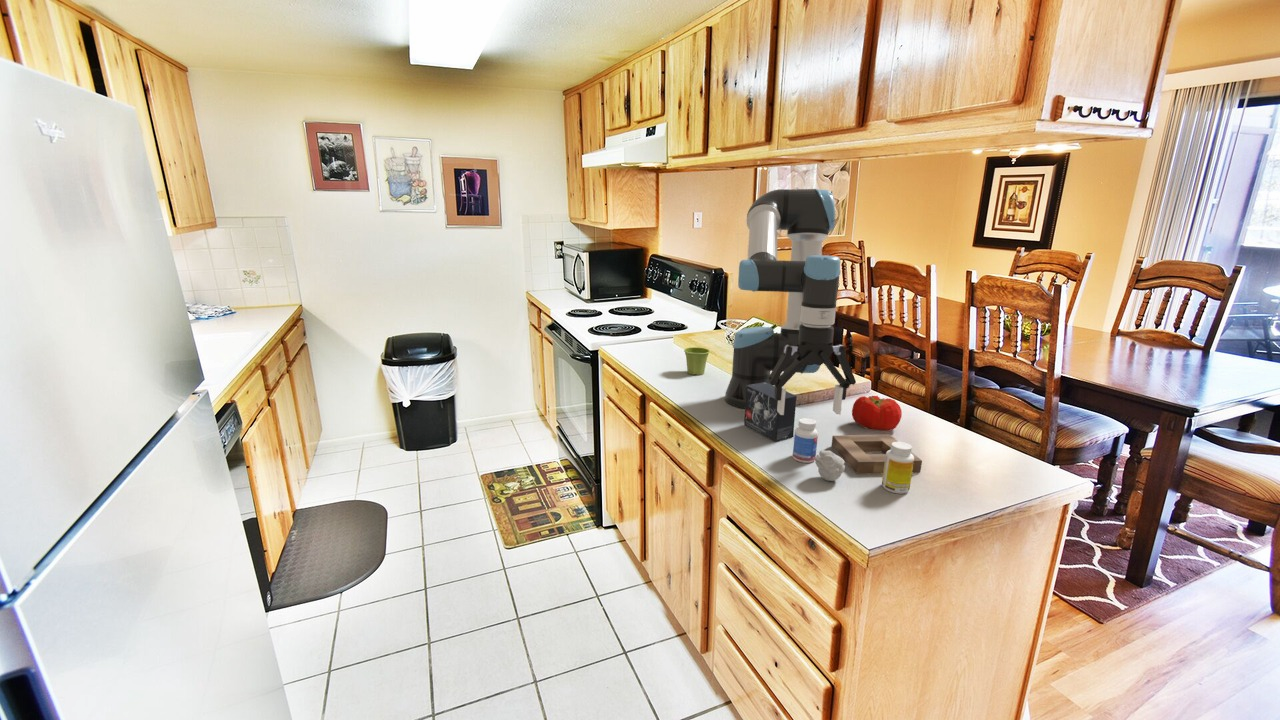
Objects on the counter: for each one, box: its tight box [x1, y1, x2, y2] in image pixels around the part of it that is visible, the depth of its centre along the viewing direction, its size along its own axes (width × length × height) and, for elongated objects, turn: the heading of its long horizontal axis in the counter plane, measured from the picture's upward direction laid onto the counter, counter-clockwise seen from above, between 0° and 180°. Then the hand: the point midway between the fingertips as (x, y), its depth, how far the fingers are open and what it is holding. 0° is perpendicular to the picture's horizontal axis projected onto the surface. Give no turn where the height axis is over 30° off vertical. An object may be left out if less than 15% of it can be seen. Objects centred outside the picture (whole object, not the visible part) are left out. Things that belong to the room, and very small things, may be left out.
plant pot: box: [683, 346, 711, 376], centre depth 200 cm, size 9×9×9 cm
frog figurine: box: [814, 449, 846, 482], centre depth 122 cm, size 6×7×7 cm
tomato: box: [851, 395, 903, 432], centre depth 152 cm, size 13×12×8 cm
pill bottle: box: [792, 417, 819, 464], centre depth 132 cm, size 6×5×10 cm
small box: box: [743, 382, 798, 443], centre depth 148 cm, size 13×7×12 cm, turn 28°
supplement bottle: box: [881, 441, 914, 495], centre depth 118 cm, size 6×6×10 cm
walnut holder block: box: [830, 434, 923, 475], centre depth 133 cm, size 15×15×3 cm
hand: (808, 412), depth 130 cm, fingers open, 13 cm apart
